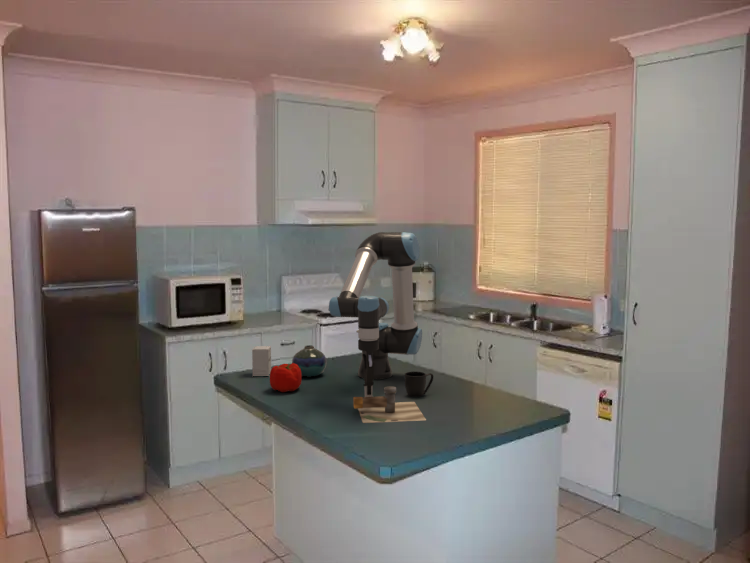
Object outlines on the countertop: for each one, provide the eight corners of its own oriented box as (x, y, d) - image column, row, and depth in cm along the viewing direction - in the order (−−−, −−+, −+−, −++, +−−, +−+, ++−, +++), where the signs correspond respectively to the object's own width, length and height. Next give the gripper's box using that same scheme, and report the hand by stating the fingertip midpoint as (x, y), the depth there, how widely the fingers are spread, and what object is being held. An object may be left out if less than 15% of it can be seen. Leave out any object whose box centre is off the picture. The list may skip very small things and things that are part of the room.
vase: (297, 370, 295) (296, 342, 294) (329, 371, 293) (329, 343, 291) (288, 379, 280) (287, 349, 278) (322, 380, 278) (322, 350, 276)
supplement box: (268, 377, 283) (268, 349, 282) (252, 377, 283) (251, 349, 282) (271, 373, 290) (271, 345, 289) (255, 373, 290) (254, 345, 289)
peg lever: (395, 408, 232) (395, 386, 231) (397, 412, 228) (397, 389, 227) (353, 410, 230) (353, 387, 229) (354, 414, 226) (354, 391, 225)
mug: (438, 398, 251) (438, 374, 250) (410, 401, 246) (410, 377, 245) (428, 392, 258) (428, 369, 257) (401, 396, 254) (401, 372, 253)
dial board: (356, 407, 239) (356, 403, 239) (414, 404, 242) (414, 401, 242) (362, 426, 217) (362, 422, 217) (426, 423, 220) (426, 419, 220)
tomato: (281, 396, 253) (280, 370, 252) (263, 389, 263) (263, 364, 262) (309, 390, 262) (309, 365, 261) (291, 384, 272) (291, 359, 271)
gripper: (356, 335, 238) (356, 397, 240) (360, 342, 225) (360, 408, 227) (376, 335, 239) (376, 397, 241) (381, 342, 226) (381, 407, 228)
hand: (368, 402), depth 234 cm, fingers closed
